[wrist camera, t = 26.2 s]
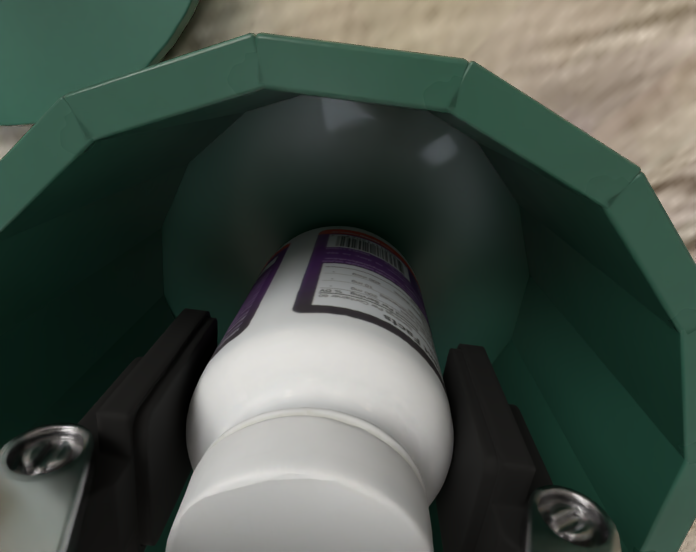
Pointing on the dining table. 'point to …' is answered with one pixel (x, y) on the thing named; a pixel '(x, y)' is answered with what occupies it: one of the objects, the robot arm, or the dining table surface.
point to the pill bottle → (320, 409)
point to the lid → (78, 47)
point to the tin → (370, 215)
